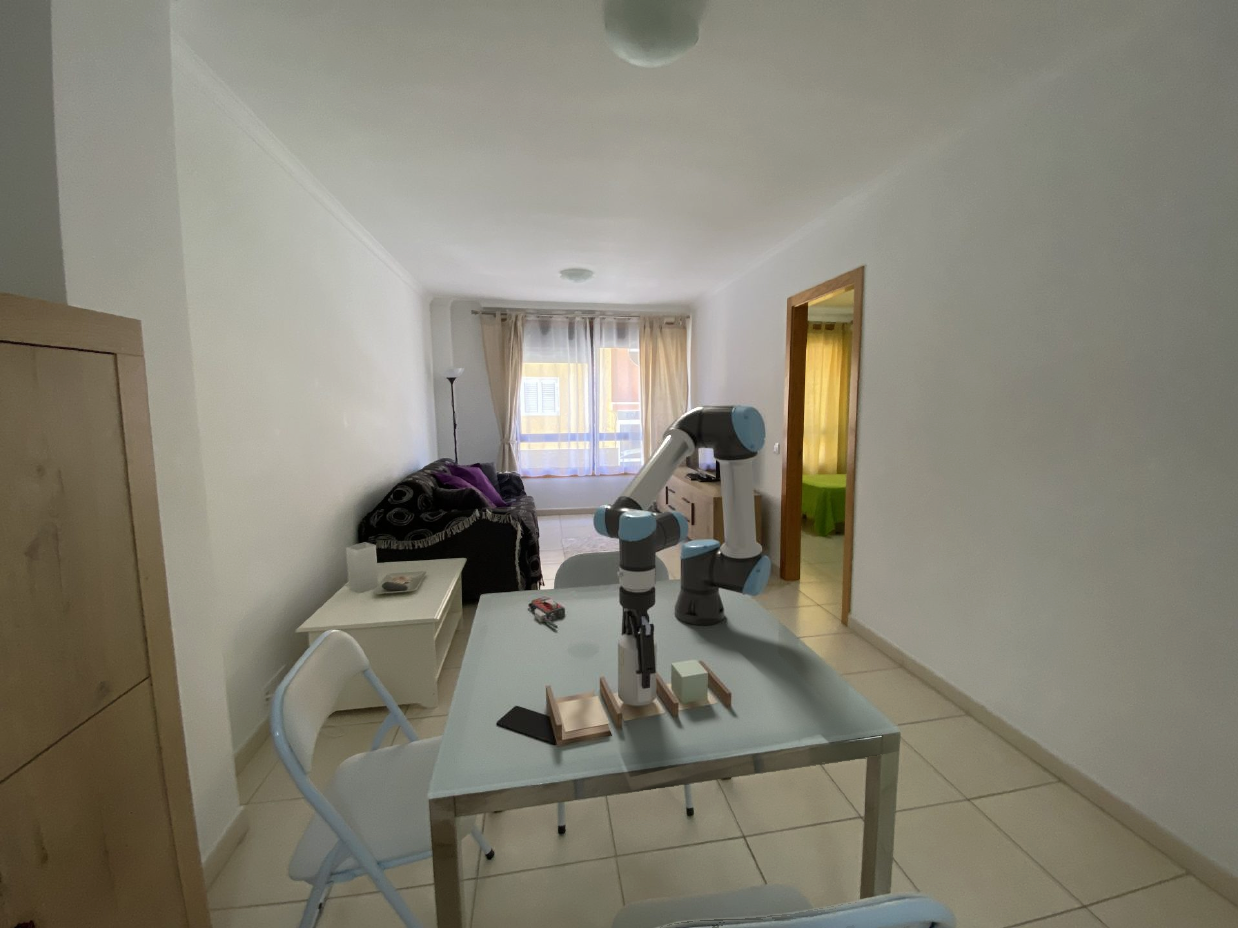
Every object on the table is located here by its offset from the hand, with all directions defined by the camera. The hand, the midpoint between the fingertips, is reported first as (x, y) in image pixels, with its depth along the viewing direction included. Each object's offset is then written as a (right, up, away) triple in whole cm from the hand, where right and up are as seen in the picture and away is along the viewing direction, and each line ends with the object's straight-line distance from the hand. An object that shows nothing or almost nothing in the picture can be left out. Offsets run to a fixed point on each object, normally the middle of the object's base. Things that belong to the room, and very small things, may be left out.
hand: (637, 688), depth 108 cm
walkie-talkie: (-25, 0, +48) cm, 54 cm away
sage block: (+12, -3, +4) cm, 12 cm away
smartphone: (-21, -6, -5) cm, 22 cm away
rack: (0, -5, +1) cm, 5 cm away
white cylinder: (0, -2, 0) cm, 1 cm away
